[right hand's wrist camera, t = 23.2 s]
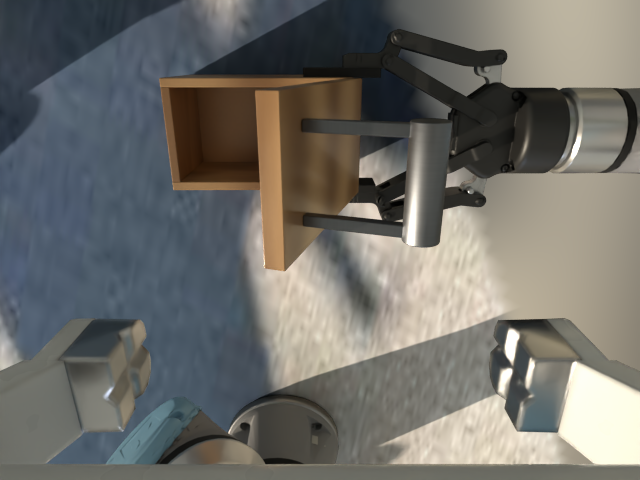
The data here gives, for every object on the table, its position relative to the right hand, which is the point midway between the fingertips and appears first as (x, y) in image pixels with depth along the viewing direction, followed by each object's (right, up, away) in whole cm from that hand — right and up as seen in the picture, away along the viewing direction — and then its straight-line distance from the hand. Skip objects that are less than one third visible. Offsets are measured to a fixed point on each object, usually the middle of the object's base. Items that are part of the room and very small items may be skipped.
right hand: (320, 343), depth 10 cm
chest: (-5, +15, +36) cm, 39 cm away
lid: (0, +8, +20) cm, 21 cm away
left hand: (-1, +12, +30) cm, 33 cm away
